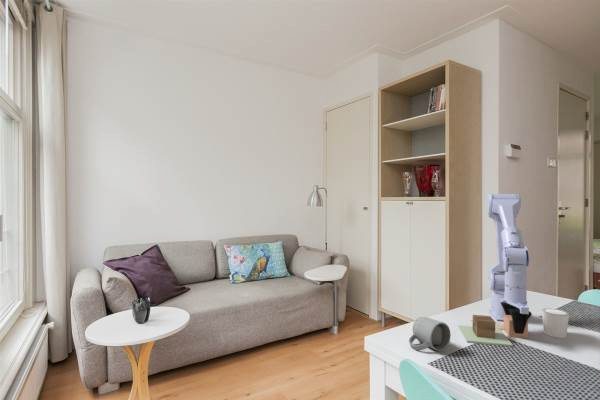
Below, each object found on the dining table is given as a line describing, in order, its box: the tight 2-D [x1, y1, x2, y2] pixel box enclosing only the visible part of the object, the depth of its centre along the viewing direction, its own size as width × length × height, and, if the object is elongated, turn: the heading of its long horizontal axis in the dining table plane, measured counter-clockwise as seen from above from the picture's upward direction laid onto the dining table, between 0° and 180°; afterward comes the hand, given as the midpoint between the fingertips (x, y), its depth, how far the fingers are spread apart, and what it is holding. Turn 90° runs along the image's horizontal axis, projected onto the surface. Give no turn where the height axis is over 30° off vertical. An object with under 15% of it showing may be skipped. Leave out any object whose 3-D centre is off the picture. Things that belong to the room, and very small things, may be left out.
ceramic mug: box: [408, 316, 452, 352], centre depth 95 cm, size 11×8×8 cm
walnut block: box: [472, 314, 496, 338], centre depth 102 cm, size 5×5×5 cm
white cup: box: [541, 307, 570, 339], centre depth 103 cm, size 7×7×7 cm
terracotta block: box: [503, 315, 529, 339], centre depth 103 cm, size 5×5×5 cm
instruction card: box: [470, 319, 504, 331], centre depth 111 cm, size 6×9×1 cm, turn 76°
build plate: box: [457, 325, 514, 347], centre depth 102 cm, size 12×12×1 cm
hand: (515, 329), depth 103 cm, fingers closed on terracotta block, 5 cm apart
